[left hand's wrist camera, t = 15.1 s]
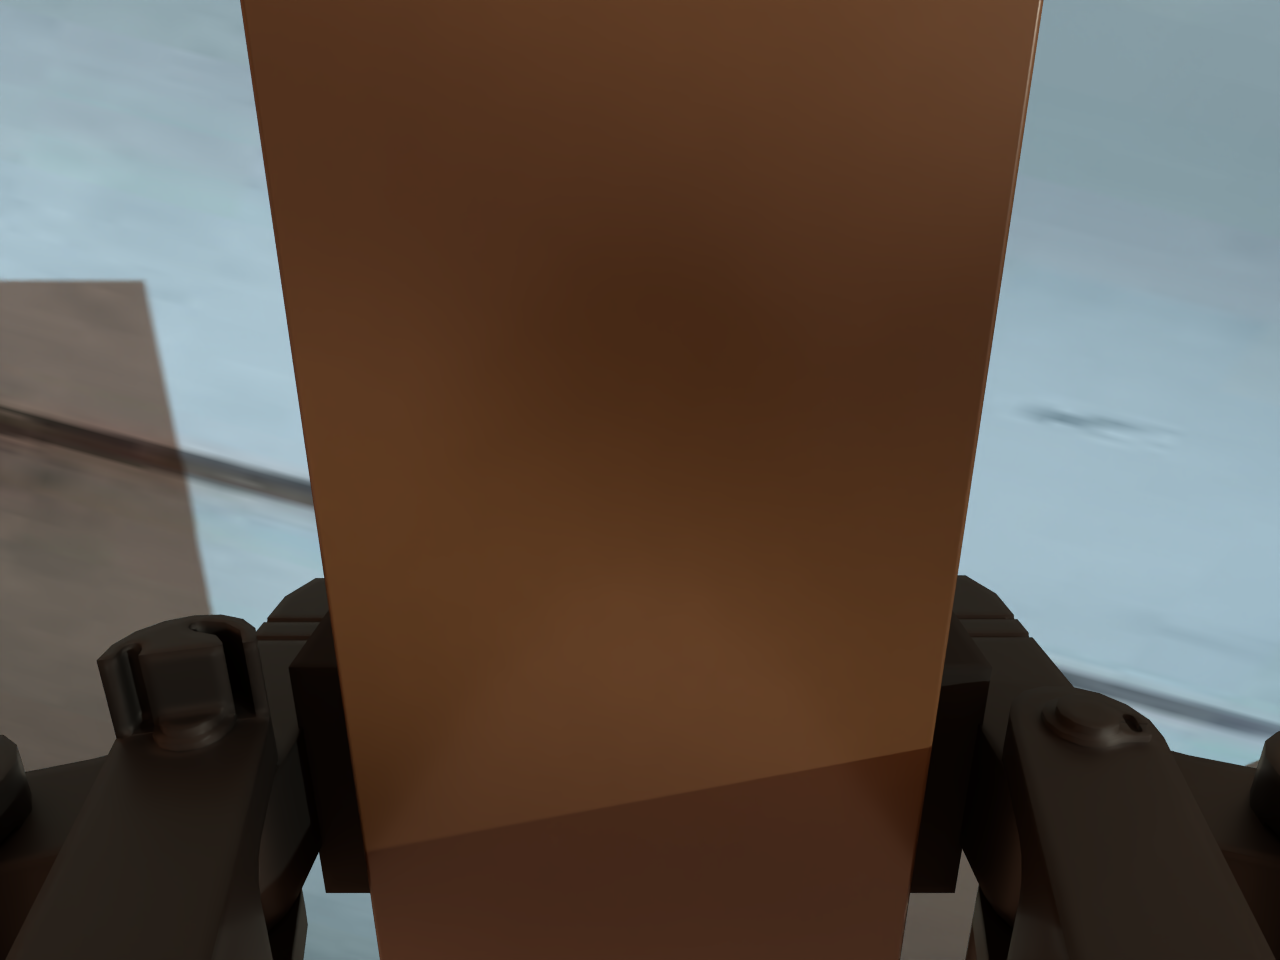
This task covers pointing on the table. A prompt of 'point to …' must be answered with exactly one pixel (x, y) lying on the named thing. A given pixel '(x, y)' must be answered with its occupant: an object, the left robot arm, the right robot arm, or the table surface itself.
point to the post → (640, 445)
